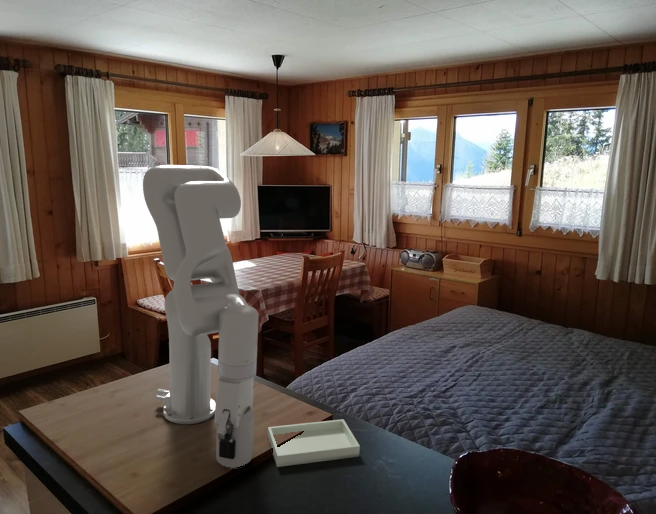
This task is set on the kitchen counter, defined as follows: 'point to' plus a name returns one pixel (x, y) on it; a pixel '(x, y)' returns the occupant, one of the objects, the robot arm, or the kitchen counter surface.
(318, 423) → the tray
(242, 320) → the robot arm
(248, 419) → the can
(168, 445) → the kitchen counter surface
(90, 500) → the kitchen counter surface
